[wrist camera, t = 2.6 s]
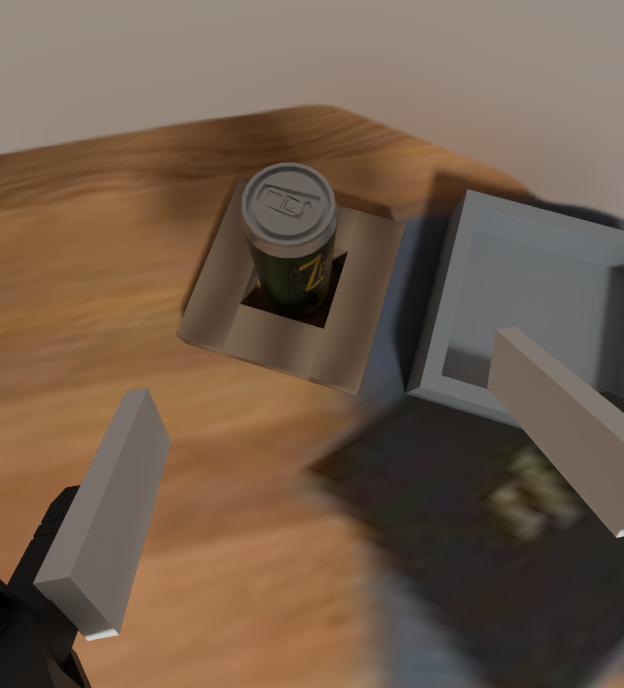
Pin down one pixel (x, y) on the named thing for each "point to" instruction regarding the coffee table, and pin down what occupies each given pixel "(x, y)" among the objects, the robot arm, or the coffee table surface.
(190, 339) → the socket block
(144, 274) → the coffee table surface
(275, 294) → the beer can
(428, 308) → the bin
